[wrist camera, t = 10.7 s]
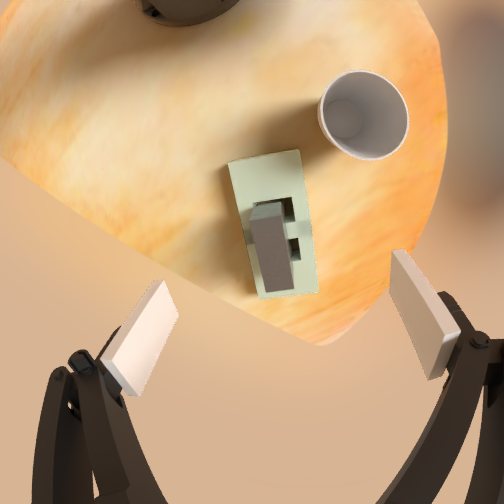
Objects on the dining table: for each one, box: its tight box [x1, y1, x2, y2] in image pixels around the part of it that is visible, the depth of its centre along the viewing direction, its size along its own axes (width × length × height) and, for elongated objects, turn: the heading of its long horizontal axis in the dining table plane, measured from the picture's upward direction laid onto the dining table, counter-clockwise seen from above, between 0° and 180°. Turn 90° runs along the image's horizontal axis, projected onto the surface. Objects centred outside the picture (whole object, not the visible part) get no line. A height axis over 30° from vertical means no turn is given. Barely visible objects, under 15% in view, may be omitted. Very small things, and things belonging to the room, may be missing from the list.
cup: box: [317, 70, 409, 160], centre depth 23 cm, size 8×8×10 cm
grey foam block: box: [249, 199, 294, 293], centre depth 30 cm, size 8×3×9 cm, turn 13°
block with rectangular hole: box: [228, 149, 319, 300], centre depth 33 cm, size 18×8×3 cm, turn 12°
